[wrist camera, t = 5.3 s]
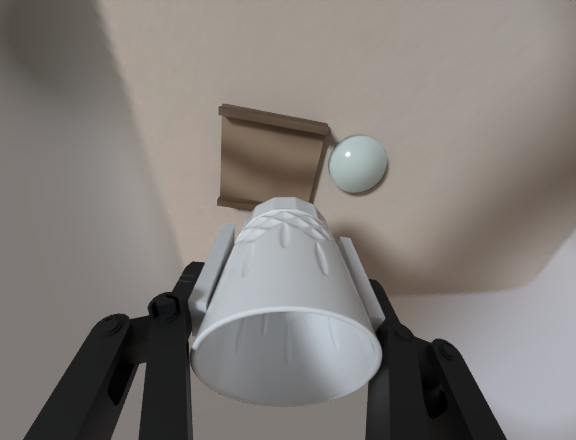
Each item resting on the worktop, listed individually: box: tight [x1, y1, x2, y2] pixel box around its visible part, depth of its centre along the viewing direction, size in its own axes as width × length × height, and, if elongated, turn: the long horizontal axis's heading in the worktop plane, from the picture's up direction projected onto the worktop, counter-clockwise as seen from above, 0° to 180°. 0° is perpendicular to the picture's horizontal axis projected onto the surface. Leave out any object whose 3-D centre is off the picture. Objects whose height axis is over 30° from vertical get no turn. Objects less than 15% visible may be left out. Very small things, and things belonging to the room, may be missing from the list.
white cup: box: [190, 197, 382, 407], centre depth 13 cm, size 8×8×10 cm
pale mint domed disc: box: [328, 135, 387, 193], centre depth 28 cm, size 7×7×2 cm
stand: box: [217, 104, 330, 211], centre depth 27 cm, size 12×12×3 cm
